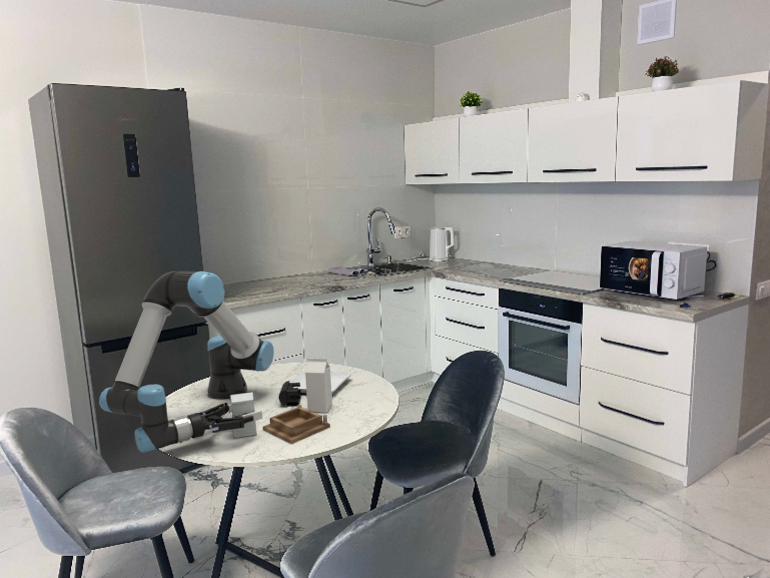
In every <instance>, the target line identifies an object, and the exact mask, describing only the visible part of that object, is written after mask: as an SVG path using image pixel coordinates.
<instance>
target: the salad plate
mask: <svg viewBox="0 0 770 578" xmlns="http://www.w3.org/2000/svg"><path fill="white" fill-rule="evenodd" d="M305 371H306V369H304V371H302V372H300V374H298V375H296V376H295V377H294V378H293V379H292V380H291V381H290V383H299V382H300V387H293V388H298V390H301V394H307V391H306V377H305ZM330 374H331V390H332V395H333V394H334V393H335V392H336V391H337V390H338V389H339V388H340V387H341V386H342V385H343V384H344V383H345V382H347V380H348V379H350V378H351V376H352V373H351V372H343V371H342V372H341V371H335V370H334V371H331V370H330Z"/></svg>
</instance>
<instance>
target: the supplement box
mask: <svg viewBox="0 0 770 578" xmlns="http://www.w3.org/2000/svg"><path fill="white" fill-rule="evenodd" d="M229 399H230V404H231V410H232V413H231V418H235V417H242V416H243V415H246V414H250V413H253V412H256V411H255V399H254V393H253V392H245V393H244V394H236V395H230V398H229ZM256 422H257V421H253V422H250V423H246V424H244V428H240V429H233V430H232V431H233V437H234V439H238V438H242V437H243V438H244V437H249V436H257V431H258V430H257V423H256Z"/></svg>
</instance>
